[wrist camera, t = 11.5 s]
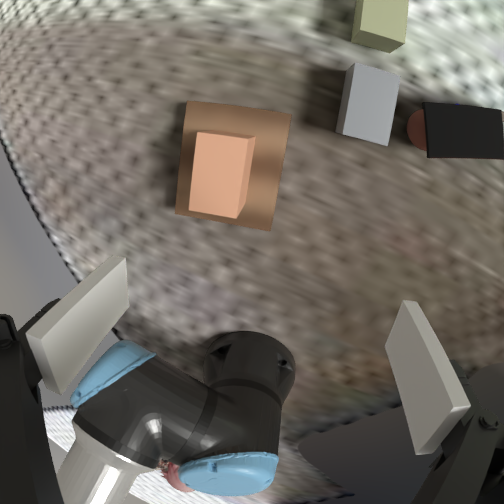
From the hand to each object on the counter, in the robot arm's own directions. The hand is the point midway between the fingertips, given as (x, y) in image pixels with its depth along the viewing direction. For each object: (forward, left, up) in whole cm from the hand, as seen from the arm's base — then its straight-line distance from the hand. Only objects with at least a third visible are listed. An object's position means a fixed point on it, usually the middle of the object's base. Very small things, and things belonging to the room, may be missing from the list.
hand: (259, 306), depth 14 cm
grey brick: (+12, -8, -27) cm, 31 cm away
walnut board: (+2, +6, -27) cm, 28 cm away
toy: (-70, +11, -27) cm, 76 cm away
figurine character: (+13, -21, -27) cm, 37 cm away
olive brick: (+24, -8, -27) cm, 37 cm away
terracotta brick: (+2, +6, -24) cm, 25 cm away
